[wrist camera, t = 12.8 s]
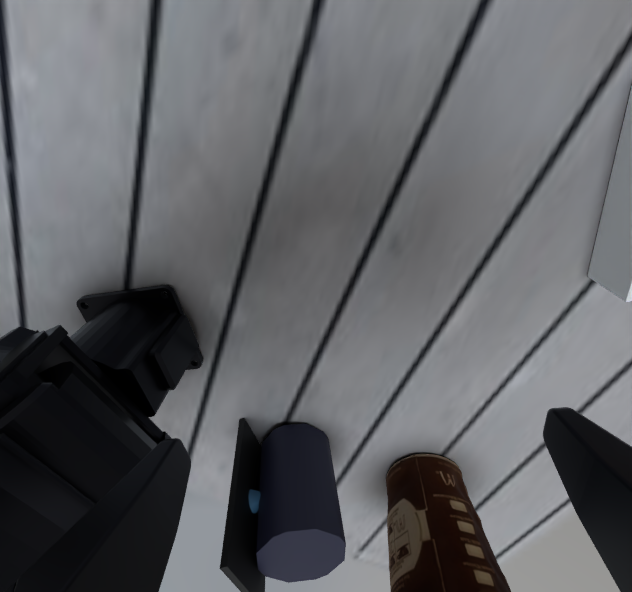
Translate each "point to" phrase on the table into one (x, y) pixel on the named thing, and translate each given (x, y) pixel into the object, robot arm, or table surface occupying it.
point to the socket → (617, 222)
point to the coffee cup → (436, 531)
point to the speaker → (282, 509)
